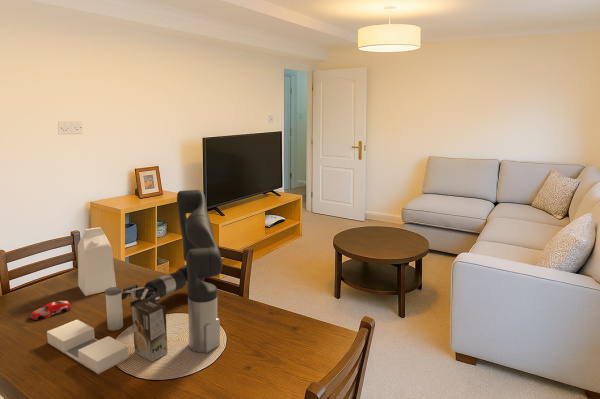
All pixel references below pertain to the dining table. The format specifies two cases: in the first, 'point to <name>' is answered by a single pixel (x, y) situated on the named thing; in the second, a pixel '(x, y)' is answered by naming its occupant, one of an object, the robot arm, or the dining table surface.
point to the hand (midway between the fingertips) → (123, 302)
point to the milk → (95, 262)
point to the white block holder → (87, 346)
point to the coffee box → (149, 329)
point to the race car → (51, 310)
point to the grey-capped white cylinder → (114, 308)
